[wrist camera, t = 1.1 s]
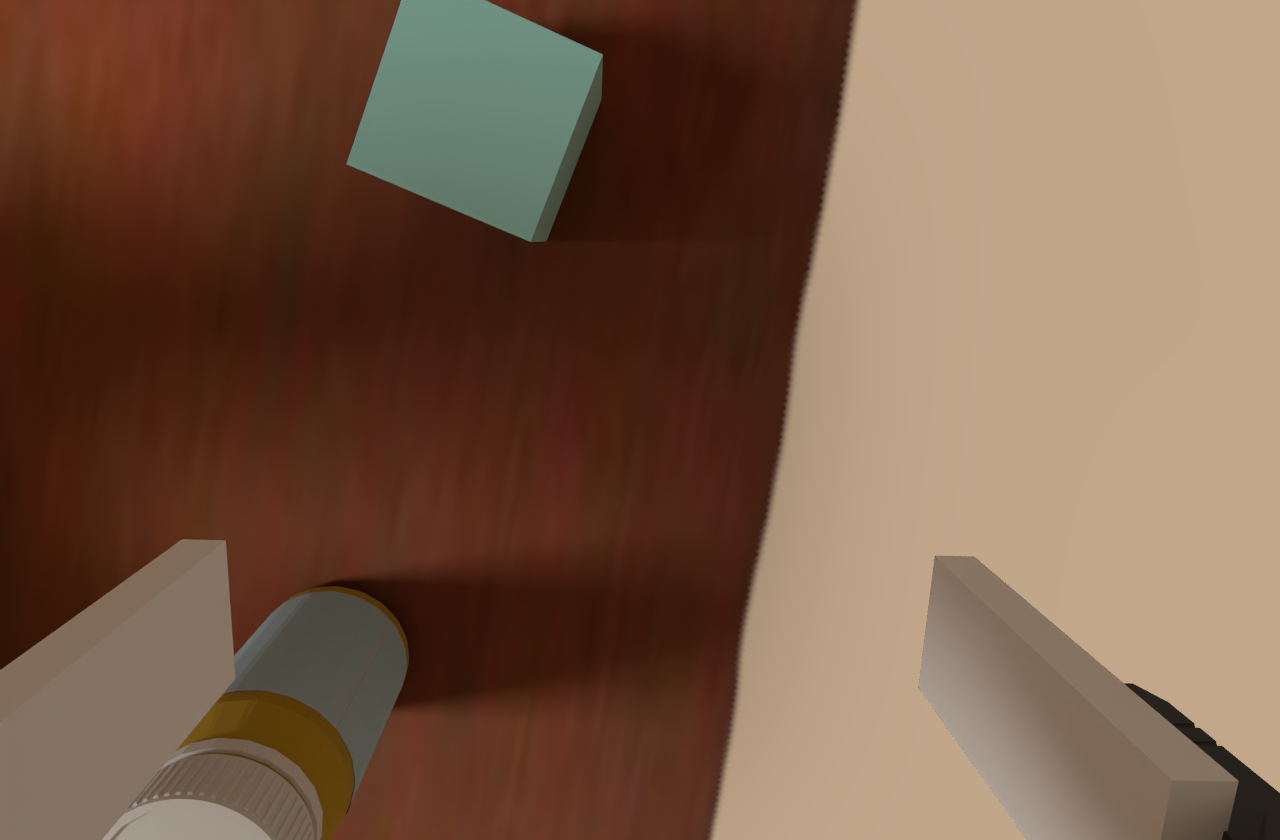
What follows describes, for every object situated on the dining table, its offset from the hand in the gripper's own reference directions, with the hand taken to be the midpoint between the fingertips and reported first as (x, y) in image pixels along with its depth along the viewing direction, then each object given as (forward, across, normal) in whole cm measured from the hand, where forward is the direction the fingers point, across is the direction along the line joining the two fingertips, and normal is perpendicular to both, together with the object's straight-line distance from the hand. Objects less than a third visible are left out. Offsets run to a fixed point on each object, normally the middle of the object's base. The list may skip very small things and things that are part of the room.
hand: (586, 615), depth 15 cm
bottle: (+23, -12, -13) cm, 29 cm away
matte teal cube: (+23, -4, +11) cm, 26 cm away
